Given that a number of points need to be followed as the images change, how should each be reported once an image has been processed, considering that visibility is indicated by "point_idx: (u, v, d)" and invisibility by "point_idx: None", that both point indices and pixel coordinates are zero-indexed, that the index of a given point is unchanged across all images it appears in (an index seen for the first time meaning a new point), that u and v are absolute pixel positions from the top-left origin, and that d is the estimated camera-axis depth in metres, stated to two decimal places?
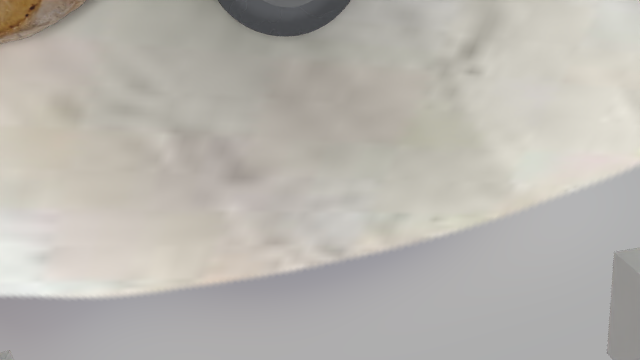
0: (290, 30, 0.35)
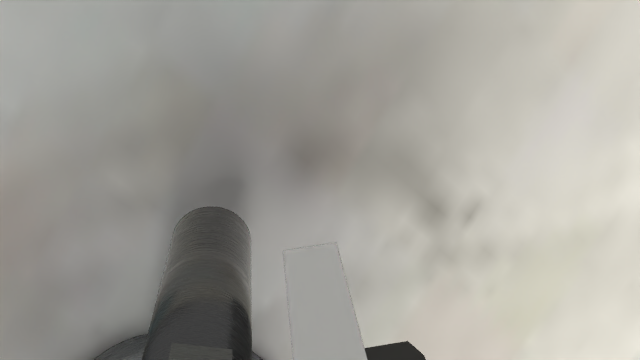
0: None
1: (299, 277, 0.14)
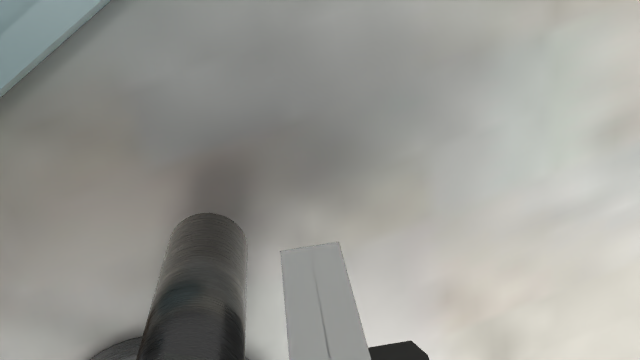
0: None
1: (297, 278, 0.14)
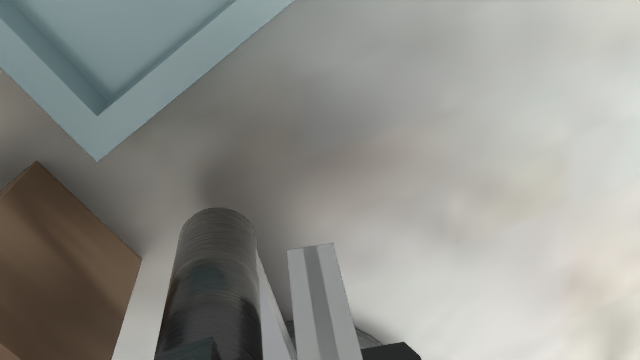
0: None
1: (304, 277, 0.14)
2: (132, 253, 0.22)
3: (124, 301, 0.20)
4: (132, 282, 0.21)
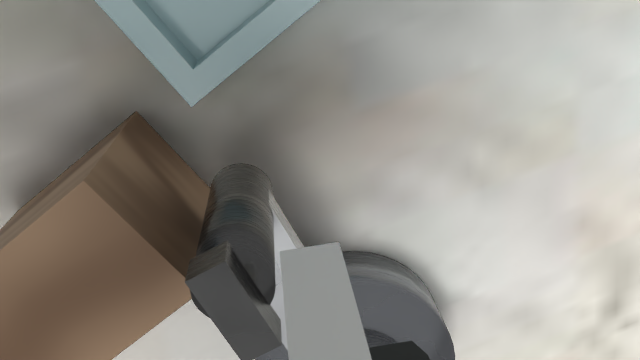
0: None
1: (296, 278, 0.14)
2: None
3: None
4: None
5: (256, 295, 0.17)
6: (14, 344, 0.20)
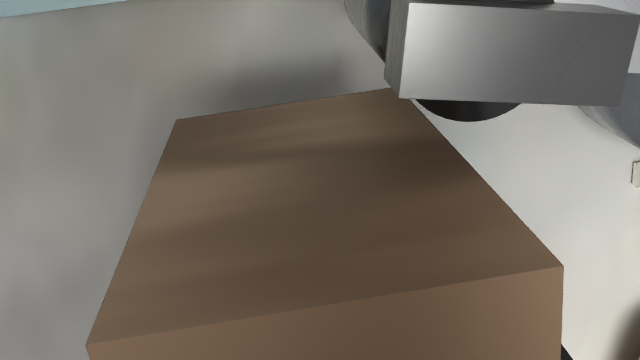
0: None
1: None
2: (379, 91, 0.14)
3: (426, 127, 0.11)
4: (413, 108, 0.12)
5: (517, 4, 0.08)
6: None
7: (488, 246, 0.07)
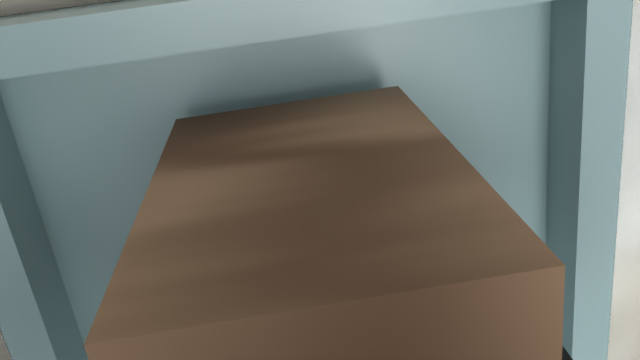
0: None
1: None
2: (379, 90, 0.14)
3: (426, 125, 0.11)
4: (413, 107, 0.12)
5: None
6: None
7: (489, 245, 0.07)
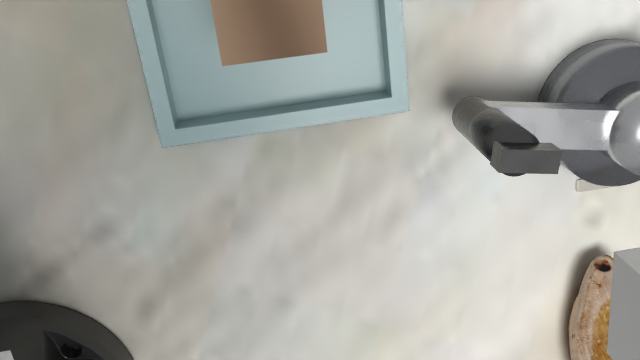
0: None
1: None
2: None
3: None
4: None
5: (529, 146, 0.30)
6: (272, 31, 0.28)
7: None
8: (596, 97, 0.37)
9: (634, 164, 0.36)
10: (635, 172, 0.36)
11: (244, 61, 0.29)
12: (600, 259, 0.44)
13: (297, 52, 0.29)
